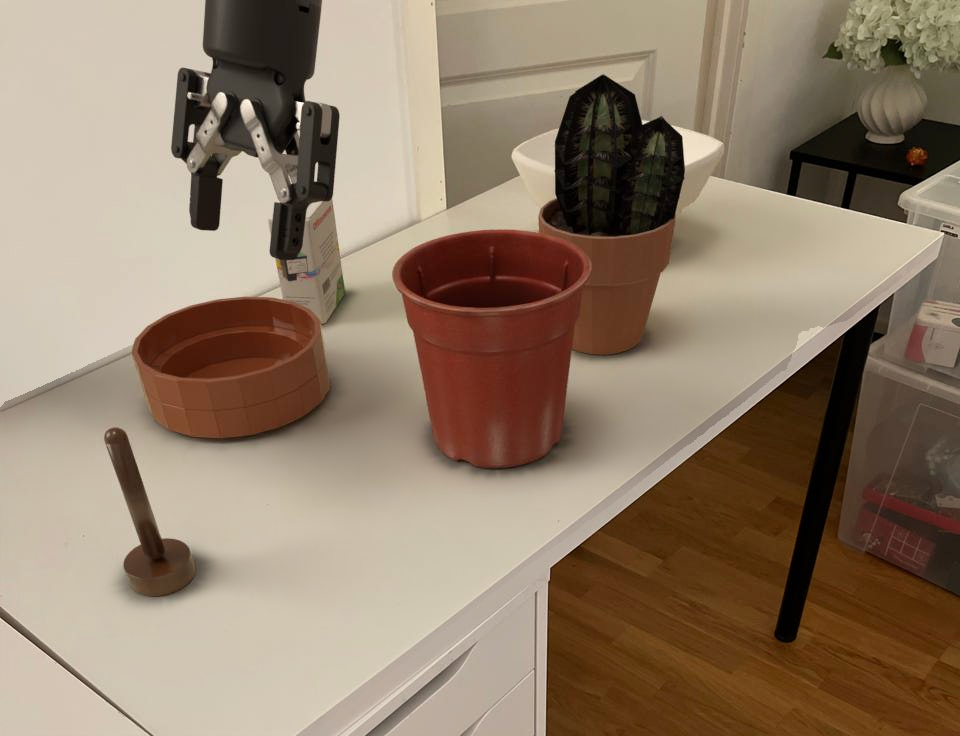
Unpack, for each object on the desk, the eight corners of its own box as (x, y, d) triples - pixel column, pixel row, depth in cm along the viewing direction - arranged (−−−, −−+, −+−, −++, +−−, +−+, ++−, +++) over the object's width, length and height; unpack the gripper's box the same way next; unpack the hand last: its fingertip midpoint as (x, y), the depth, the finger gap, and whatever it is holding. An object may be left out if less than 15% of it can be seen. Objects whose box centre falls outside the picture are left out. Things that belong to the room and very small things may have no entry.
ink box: (307, 292, 117) (290, 190, 109) (347, 293, 116) (332, 191, 108) (285, 323, 111) (265, 217, 103) (326, 325, 110) (309, 218, 102)
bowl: (606, 201, 136) (610, 109, 128) (736, 240, 123) (749, 141, 115) (490, 246, 125) (487, 150, 117) (620, 294, 113) (626, 190, 105)
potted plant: (567, 376, 99) (573, 105, 82) (520, 322, 108) (516, 70, 91) (687, 351, 102) (717, 85, 85) (631, 301, 111) (647, 53, 94)
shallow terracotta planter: (117, 400, 99) (97, 340, 95) (263, 338, 108) (252, 281, 104) (214, 465, 89) (197, 401, 85) (366, 392, 98) (358, 331, 94)
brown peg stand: (117, 576, 78) (61, 430, 69) (174, 547, 80) (127, 402, 71) (150, 605, 75) (96, 456, 66) (208, 574, 77) (163, 427, 68)
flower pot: (530, 504, 83) (529, 325, 72) (375, 455, 89) (352, 285, 78) (614, 416, 93) (624, 247, 82) (469, 378, 99) (460, 218, 88)
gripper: (149, -40, 64) (139, 218, 72) (301, -11, 58) (273, 268, 66) (235, -14, 70) (217, 223, 78) (382, 16, 64) (347, 269, 72)
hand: (243, 243), depth 72 cm, fingers open, 8 cm apart
